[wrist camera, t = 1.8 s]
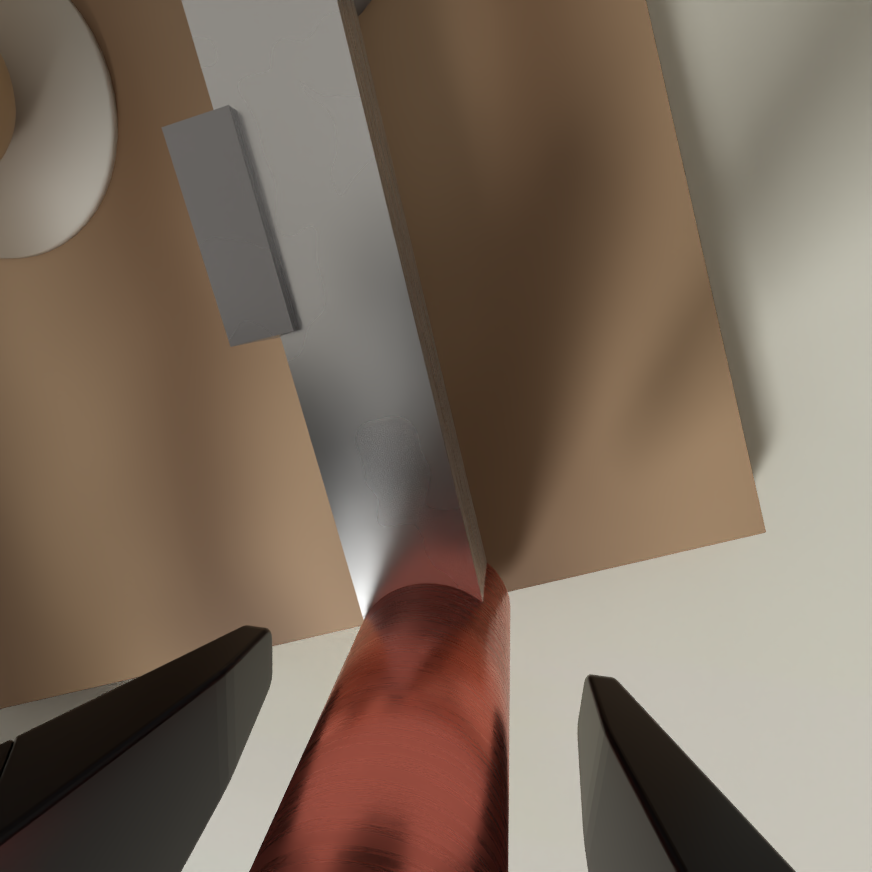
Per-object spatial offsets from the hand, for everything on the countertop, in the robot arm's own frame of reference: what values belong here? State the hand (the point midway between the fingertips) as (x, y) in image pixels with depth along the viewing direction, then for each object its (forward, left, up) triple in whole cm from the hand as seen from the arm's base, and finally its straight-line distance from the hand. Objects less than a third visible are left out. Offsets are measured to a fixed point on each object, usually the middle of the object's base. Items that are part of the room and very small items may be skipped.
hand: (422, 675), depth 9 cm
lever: (+1, +6, -2) cm, 6 cm away
